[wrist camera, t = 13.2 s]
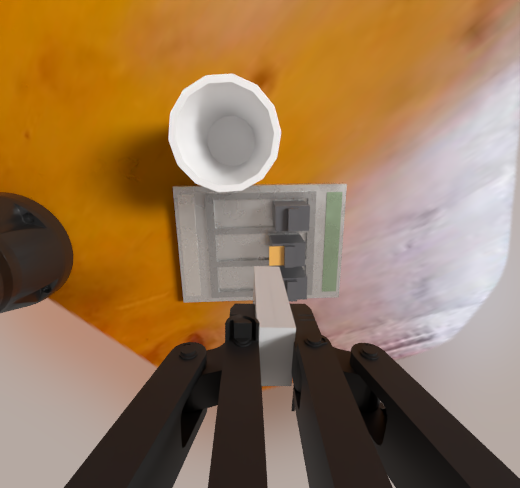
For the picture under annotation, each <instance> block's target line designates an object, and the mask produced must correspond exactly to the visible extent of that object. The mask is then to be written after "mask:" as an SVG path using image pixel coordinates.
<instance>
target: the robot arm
mask: <svg viewBox="0 0 520 488" xmlns="http://www.w3.org/2000/svg"><path fill="white" fill-rule="evenodd" d="M72 265H73V251H72V246H71V242H70V239H69V237H68V235H67V233H66V231H65V229H64V227H63V226H62V224H61V223H60V222H59V221H58V219H57V218H56V217H55V216H54V215H53V214H52V213H51V212H50V211H48V210H47V209H46V208H45V207H43V206H42V205H40V204H39V203H37V202H35V201H33V200H31V199H29V198H26V197H24V196H21V195H17V194H12V193H4V192H0V313H3V312H6V311H10V310H14V309H18V308H22V307H26V306H30V305H33V304H36V303H38V302H40V301H42V300H44V299H46V298H47V297H49V296H50V295H52V294H53V293H54V292H56V291H57V290H58V289H60V288H61V287H62V286H63V284H64V283H65V282H66V280H67V279H68V277H69V275H70V272H71V269H72ZM292 378H293V383H294V388H293V400H292V411H294V410H296V416H297V421H298V427H299V432H300V438H301V443H302V449H303V454H304V460H305V465H306V471H307V476H308V482H309V488H392V485H391V483H390V480H391V481H392V483H393V484H394V486H395V487H396V488H520V478H518V477H517V476H516V475H515V474H514V473H513V472H512V471H511V470H510V469H509V468H508V467H507V466H506V465H505V464H504V463H503V462H502V461H500V460H499V459H498V458H497V457H496V456H495V455H494V454H493V453H492V452H491V451H490V450H489V449H487V448H486V446H485V445H483V444H482V443H481V442H480V441H479V440H478V439H477V438H476V437H475V436H474V435H473V434H472V433H471V432H470V431H468V430H467V429H466V428H465V427H464V426H463V425H462V424H461V423H460V422H459V421H458V420H457V419H456V418H455V417H454V416H453V415H452V414H450V413H449V412H448V411H447V410H446V409H445V408H444V407H443V406H442V405H441V404H440V403H439V402H438V401H437V400H436V399H435V398H434V397H432V396H431V395H430V394H429V393H428V392H427V391H426V390H425V389H424V388H423V387H422V386H421V385H420V384H419V383H418V382H416V381H415V380H414V379H413V378H412V377H411V376H410V375H409V374H408V373H407V372H406V371H405V370H404V369H403V368H402V367H401V366H400V365H399V364H397V363H396V362H395V361H394V360H393V359H392V358H391V357H390V356H389V355H388V354H387V353H386V352H385V351H384V350H382V349H381V348H379V347H377V346H375V345H373V344H368V343H358V344H355V345H354V346H353V347H352V348H351V352H350V351H345V350H341V349H337V348H334V347H332V345H331V343H330V341H329V340H328V339H327V338H326V337H325V336H323V335H321V333H320V330H319V328H318V325H317V323H316V321H315V318H314V316H313V313H312V310H311V309H310V308H309V307H308V306H307V305H306V304H289V300H288V297H287V293H286V289H285V286H284V282H283V278H282V275H281V271H280V267H268V266H254V288H253V304H234V306H233V307H232V308H231V309H230V318H228V319H227V321H226V323H225V343H224V344H223V345H221V346H220V347H218V348H215V349H211V350H207V351H206V349H205V347H204V346H203V345H201V344H199V343H196V342H188V343H183V344H180V345H178V346H176V347H175V348H174V349H173V350H172V351H171V352H170V353H169V354H168V356H167V357H166V358H165V359H164V361H163V362H162V363H161V365H160V366H159V367H158V368H157V370H156V371H155V372H154V373H153V375H152V376H151V378H150V379H149V380H148V381H147V382H146V384H145V385H144V386H143V388H142V389H141V390H140V391H139V393H138V394H137V395H136V396H135V398H134V399H133V400H132V401H131V403H130V404H129V405H128V407H127V408H126V409H125V410H124V412H123V413H122V414H121V416H120V417H119V418H118V420H117V421H116V422H115V423H114V424H113V426H112V427H111V428H110V429H109V431H108V432H107V433H106V435H105V436H104V437H103V438H102V440H101V441H100V442H99V443H98V445H97V446H96V447H95V449H94V450H93V451H92V453H91V454H90V455H89V456H88V458H87V459H86V460H85V461H84V463H83V464H82V465H81V466H80V468H79V469H78V470H77V472H76V473H75V474H74V475H73V477H72V478H71V479H70V480H69V482H68V483H67V484H66V486H65V487H64V488H172V487H173V485H174V483H175V481H176V479H177V476H178V474H179V472H180V470H181V468H182V465H183V463H184V461H185V459H186V457H187V454H188V452H189V450H190V448H191V445H192V443H193V441H194V439H195V437H196V435H197V432H198V430H199V428H200V426H201V424H202V422H203V419H204V417H205V415H206V412H207V408H209V407H212V406H216V405H218V407H217V416H216V424H215V433H214V441H213V450H212V458H211V466H210V475H209V483H208V488H267V471H266V454H265V439H264V438H265V437H264V420H263V405H262V386H291V384H292ZM380 401H381V402H382V403H383V404H382V403H381V402H380ZM387 475H388V476H387ZM388 477H389V478H390V480H389V478H388Z"/></svg>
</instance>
